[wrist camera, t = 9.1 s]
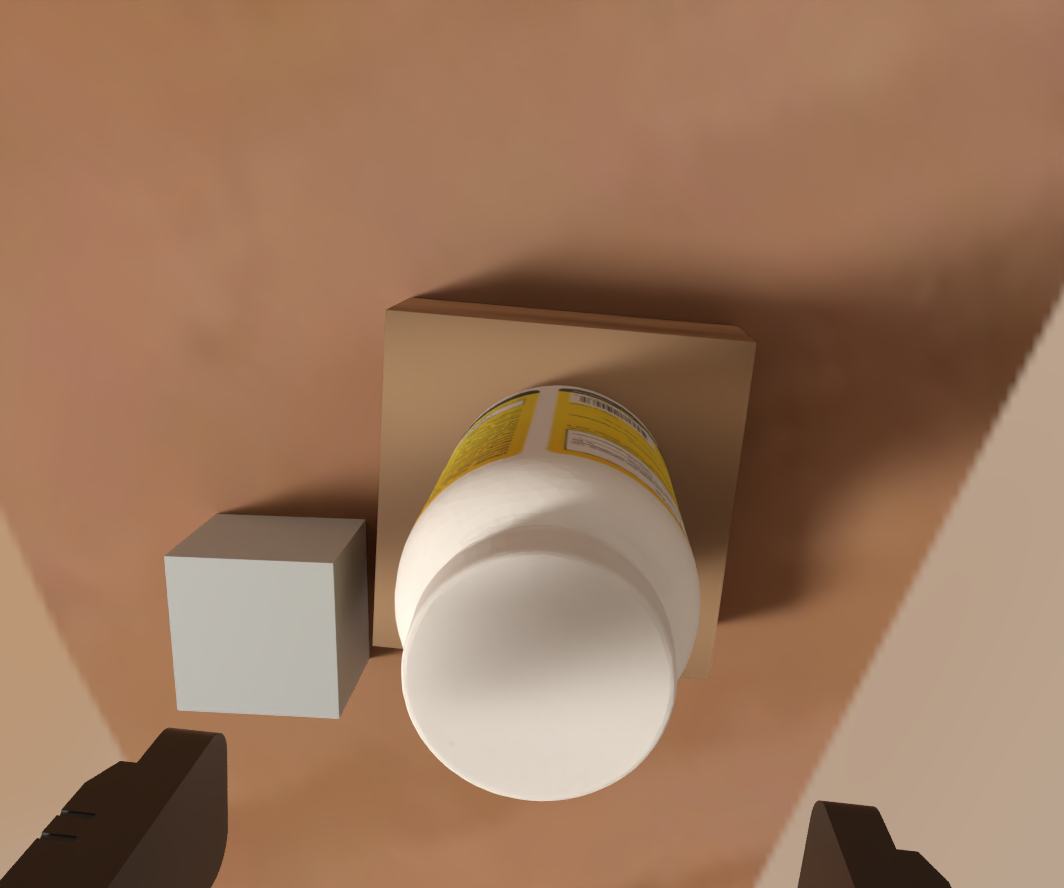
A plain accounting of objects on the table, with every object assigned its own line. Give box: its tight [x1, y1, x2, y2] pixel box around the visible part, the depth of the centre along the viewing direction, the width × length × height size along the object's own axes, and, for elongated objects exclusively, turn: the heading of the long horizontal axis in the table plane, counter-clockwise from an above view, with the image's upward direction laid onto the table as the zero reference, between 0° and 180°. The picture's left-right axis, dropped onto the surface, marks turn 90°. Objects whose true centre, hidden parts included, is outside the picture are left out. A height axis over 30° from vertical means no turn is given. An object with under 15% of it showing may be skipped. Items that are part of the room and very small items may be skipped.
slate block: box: [164, 514, 370, 719], centre depth 30 cm, size 5×5×4 cm
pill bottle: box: [395, 385, 700, 801], centre depth 21 cm, size 6×6×11 cm
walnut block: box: [373, 298, 757, 681], centre depth 28 cm, size 10×10×4 cm
